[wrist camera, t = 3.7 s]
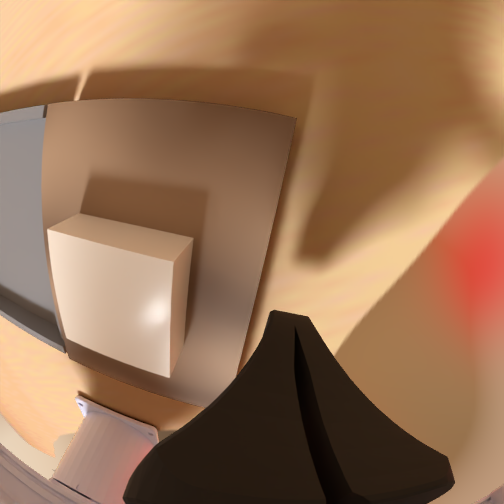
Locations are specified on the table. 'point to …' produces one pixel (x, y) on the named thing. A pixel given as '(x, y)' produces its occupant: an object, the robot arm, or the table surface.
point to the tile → (122, 289)
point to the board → (175, 213)
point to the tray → (25, 228)
